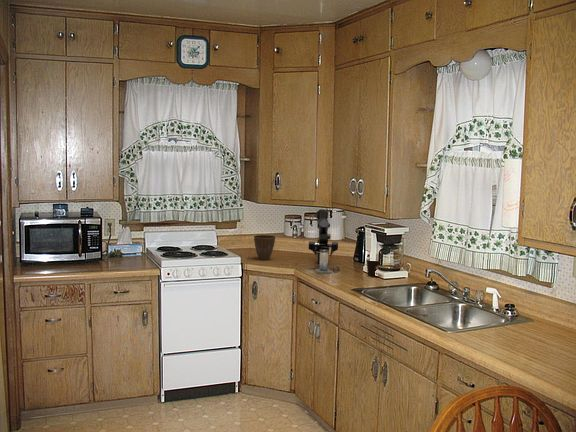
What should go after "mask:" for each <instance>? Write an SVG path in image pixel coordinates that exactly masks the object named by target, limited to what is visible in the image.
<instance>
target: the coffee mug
mask: <svg viewBox="0 0 576 432" xmlns="http://www.w3.org/2000/svg"><path fill="white" fill-rule="evenodd" d="M370 259H371V258H367V259H366V268H367V277H369V276H371V277H372V278H375V277H374V276H375V271H376V270H377V269H378V267H379V263H380V264H381V262H380V261H370ZM371 277H370V278H371Z"/></svg>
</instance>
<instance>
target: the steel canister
mask: <svg viewBox="0 0 576 432" xmlns="http://www.w3.org/2000/svg"><path fill="white" fill-rule="evenodd" d="M318 266H319V268H318V269H319V271H328V269H329V254H328V250H327V249H320V263H319V265H318Z"/></svg>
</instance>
